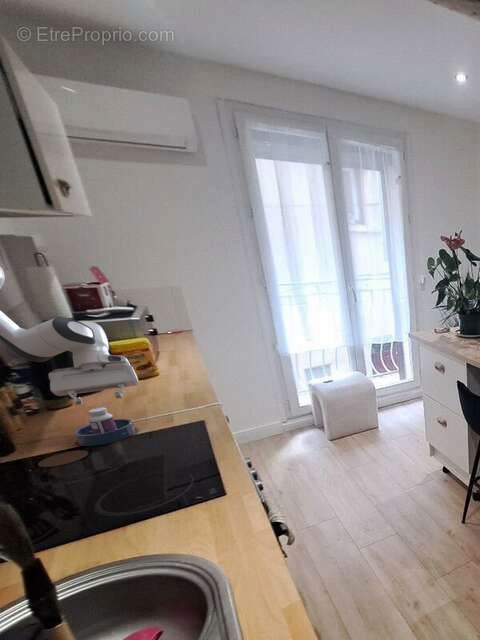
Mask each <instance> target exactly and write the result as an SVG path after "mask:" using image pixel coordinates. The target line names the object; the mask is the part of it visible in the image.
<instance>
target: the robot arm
mask: <svg viewBox="0 0 480 640" xmlns="http://www.w3.org/2000/svg"><path fill="white" fill-rule="evenodd" d="M5 281H6V275H5V271H4V269H3V268H2V267H1V266H0V290H1V289H2V288H3V286H4V284H5ZM0 341H1V342H3V343H4V344H5V345H6V346H7V348H8V349H9V350H10V351H11V352H12V353H13V354H14V355H15V356H17V358H20V359H22V360H25V361H29V362H34V363H44V362H47V361H48V360H50V359H52V358H54V357H56V356H58V355H60V354H62V353H64V352H67V351H68V352H71V353H72V361H73V366H71V367H65V368H56V369H54V370H52V371H50V372H49V373H48V380H49V381H50V382H49V388H50V389H49V390H50V391H51V393H52V394H53V395H55V396H57V397H62V396H69V397H70V398H71V399H73V403H74V404H75V405H76V406H78V405H83V404H84V402H83V398H81V397H80V396H78V397H77V395H78V394H84V393H92V392H98V391H99V392H100V391H105V390H112V389H118V390H117V391H115V392H114V396H115V399H117V400H118V399H123V398H124V396H123V394H124V392H125V391H127V387H128V388H129V387H134V386H135V387H136V386H138V384H139V383H140V381H139V377H138V375H137V373H136V371H135V370H134V367H133V366H132V365H131V363H130V361H129V360H128V358H127V357H126V356H124V355H116V354H115V355H113V354H110V353H109V350H110V345H109V340H108V337H107V334H106V332H105V330H104V329H103V328H102V326H101V325H100V324H98V323H96V322H94V321H90V320H75V319H73V318H69V317H65V316H57V317H53V318H51V319H49V320H46V321H43V322H42V323H39V324H37V325H35V326H33V327H30V328H22V327H20V326H19V325H17V323H15V322H14V321H13V320H12V319H11V318H10V317H9V316H7V314H6V313H4V312H3V311H2V310H0Z"/></svg>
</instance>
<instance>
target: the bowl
mask: <svg viewBox="0 0 480 640" xmlns="http://www.w3.org/2000/svg"><path fill="white" fill-rule="evenodd" d="M113 419H114V418H113ZM114 422H115V424H116V427H117V430H113V431H110V432H105V433H100V434H94V432H93V429H92V427H91V425H90V424H87V425H85V426H81V427H79V428H78V429H76V430H75V431H74V436H75V438H76V441H77V443H78V445H80V446H82V447H95V446H101V445H103V446H104V445H107V444H112V443H115V442H119V441H122V440H124V439H127V438H130V437H131V436H133V435H135V433H136V431H137V430H136V427H135V425H134V423H133V420H131V419H129V418H115V419H114Z"/></svg>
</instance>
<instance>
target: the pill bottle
mask: <svg viewBox="0 0 480 640" xmlns="http://www.w3.org/2000/svg"><path fill="white" fill-rule="evenodd" d="M88 414H89V418H88V421H89V425H91V427H92V429H93V432H94V434H100V433H105V432H110V431H113V430H117V427H116V424H115V422H114V416H113V414H111V413H109V412H108V409H107V408H106V407H96V408H92V409H90V410H88Z"/></svg>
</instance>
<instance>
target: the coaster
mask: <svg viewBox="0 0 480 640" xmlns="http://www.w3.org/2000/svg"><path fill="white" fill-rule="evenodd" d="M88 455H89V451H88V450H84V449H83V450H81V449H79V450H71V451H70V450H69V451H65V452H61V453H58V454H54V455H51V456H49V457H48V456H47V457H46V458H44V459H42V460H41V461H39V462H38V464H37V466H38V467H39V468H52V467H59V466H65V465H68V464H71V463H74V462H77V461H80V460H82V459H84V458H86V457H87V456H88Z"/></svg>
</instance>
